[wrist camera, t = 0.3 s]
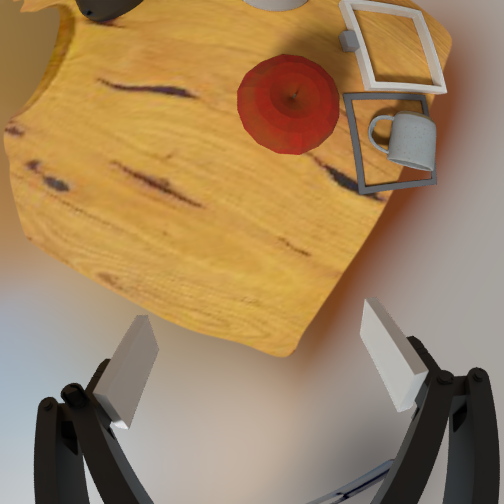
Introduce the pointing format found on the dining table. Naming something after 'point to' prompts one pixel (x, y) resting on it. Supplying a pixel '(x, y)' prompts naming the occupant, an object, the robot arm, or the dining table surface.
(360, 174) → the tray outline
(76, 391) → the robot arm
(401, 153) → the ceramic mug
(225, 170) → the dining table surface
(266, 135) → the apple
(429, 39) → the socket
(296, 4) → the cylinder vase
